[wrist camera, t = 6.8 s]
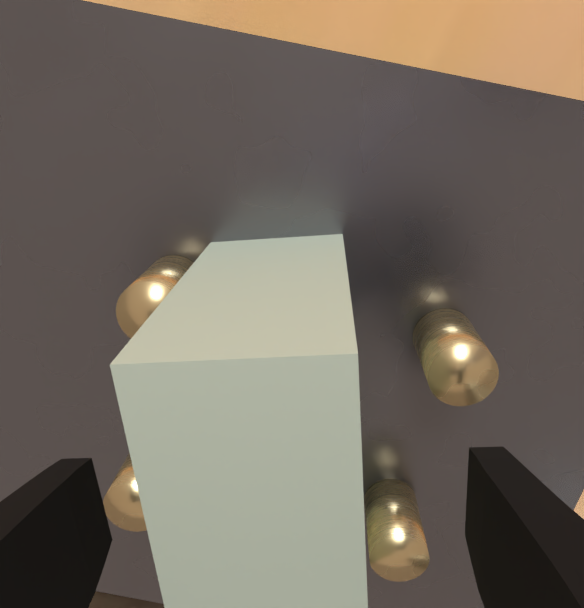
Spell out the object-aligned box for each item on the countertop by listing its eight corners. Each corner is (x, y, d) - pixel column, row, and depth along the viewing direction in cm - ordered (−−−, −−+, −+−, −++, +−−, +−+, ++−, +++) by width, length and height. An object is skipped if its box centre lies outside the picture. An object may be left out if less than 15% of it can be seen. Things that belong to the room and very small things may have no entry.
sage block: (342, 234, 12) (357, 353, 6) (355, 517, 15) (374, 775, 9) (210, 242, 12) (110, 364, 6) (248, 518, 15) (201, 772, 9)
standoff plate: (721, 133, 11) (849, 142, 9) (487, 636, 17) (519, 739, 14) (-5, -13, 11) (-114, -51, 8) (6, 545, 17) (-57, 632, 14)
